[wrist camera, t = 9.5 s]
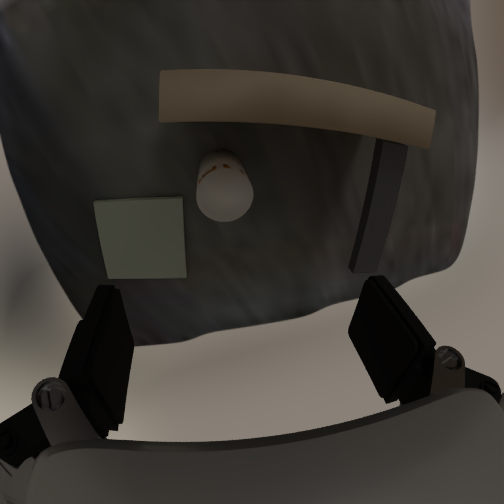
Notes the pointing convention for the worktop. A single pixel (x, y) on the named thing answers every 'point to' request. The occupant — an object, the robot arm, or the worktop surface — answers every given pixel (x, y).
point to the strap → (378, 205)
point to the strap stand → (290, 104)
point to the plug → (223, 187)
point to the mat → (142, 237)
